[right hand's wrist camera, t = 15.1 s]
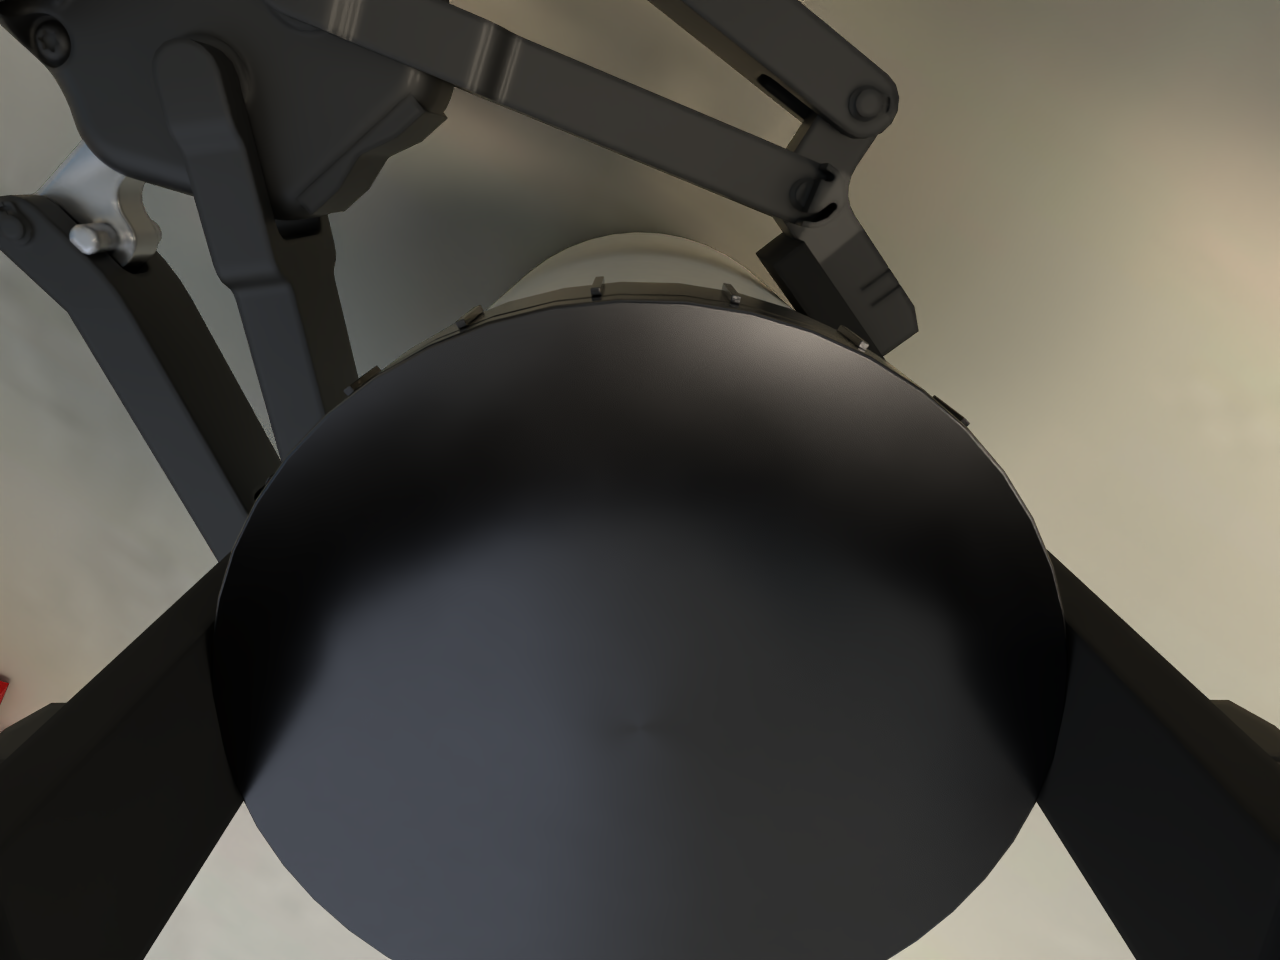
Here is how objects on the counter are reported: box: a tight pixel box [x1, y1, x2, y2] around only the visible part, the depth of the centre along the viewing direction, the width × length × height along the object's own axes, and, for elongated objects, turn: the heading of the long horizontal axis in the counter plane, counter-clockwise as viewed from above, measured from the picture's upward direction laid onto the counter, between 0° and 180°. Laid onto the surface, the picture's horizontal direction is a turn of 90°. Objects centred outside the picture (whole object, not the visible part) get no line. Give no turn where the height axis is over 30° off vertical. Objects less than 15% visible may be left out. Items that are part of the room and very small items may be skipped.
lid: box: [212, 276, 1068, 960], centre depth 11 cm, size 11×11×2 cm
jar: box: [486, 232, 793, 311], centre depth 18 cm, size 10×10×15 cm
